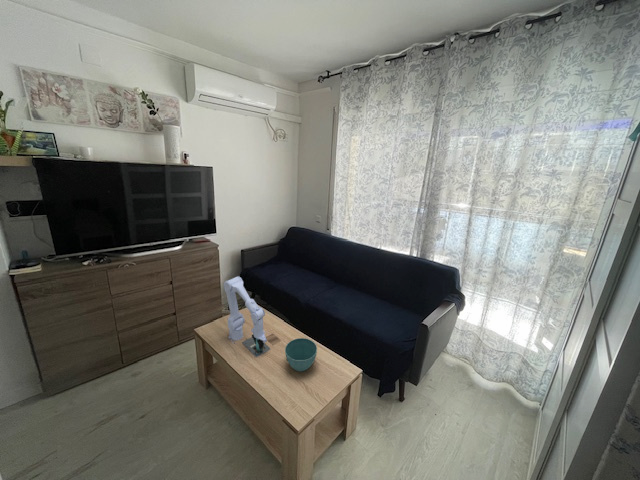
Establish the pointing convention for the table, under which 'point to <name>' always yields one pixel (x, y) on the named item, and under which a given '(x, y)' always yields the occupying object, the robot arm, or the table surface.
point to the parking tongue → (272, 339)
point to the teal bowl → (301, 353)
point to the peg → (258, 346)
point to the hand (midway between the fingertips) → (259, 346)
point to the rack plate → (251, 346)
